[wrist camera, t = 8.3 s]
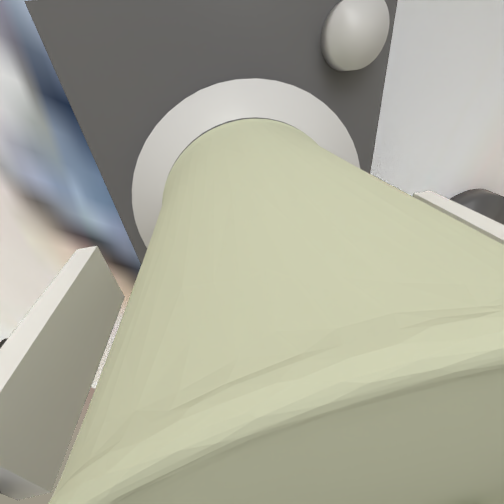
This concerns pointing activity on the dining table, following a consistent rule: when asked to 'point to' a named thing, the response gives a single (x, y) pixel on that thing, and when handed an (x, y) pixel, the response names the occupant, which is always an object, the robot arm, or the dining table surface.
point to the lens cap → (483, 203)
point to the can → (298, 342)
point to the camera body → (212, 80)
